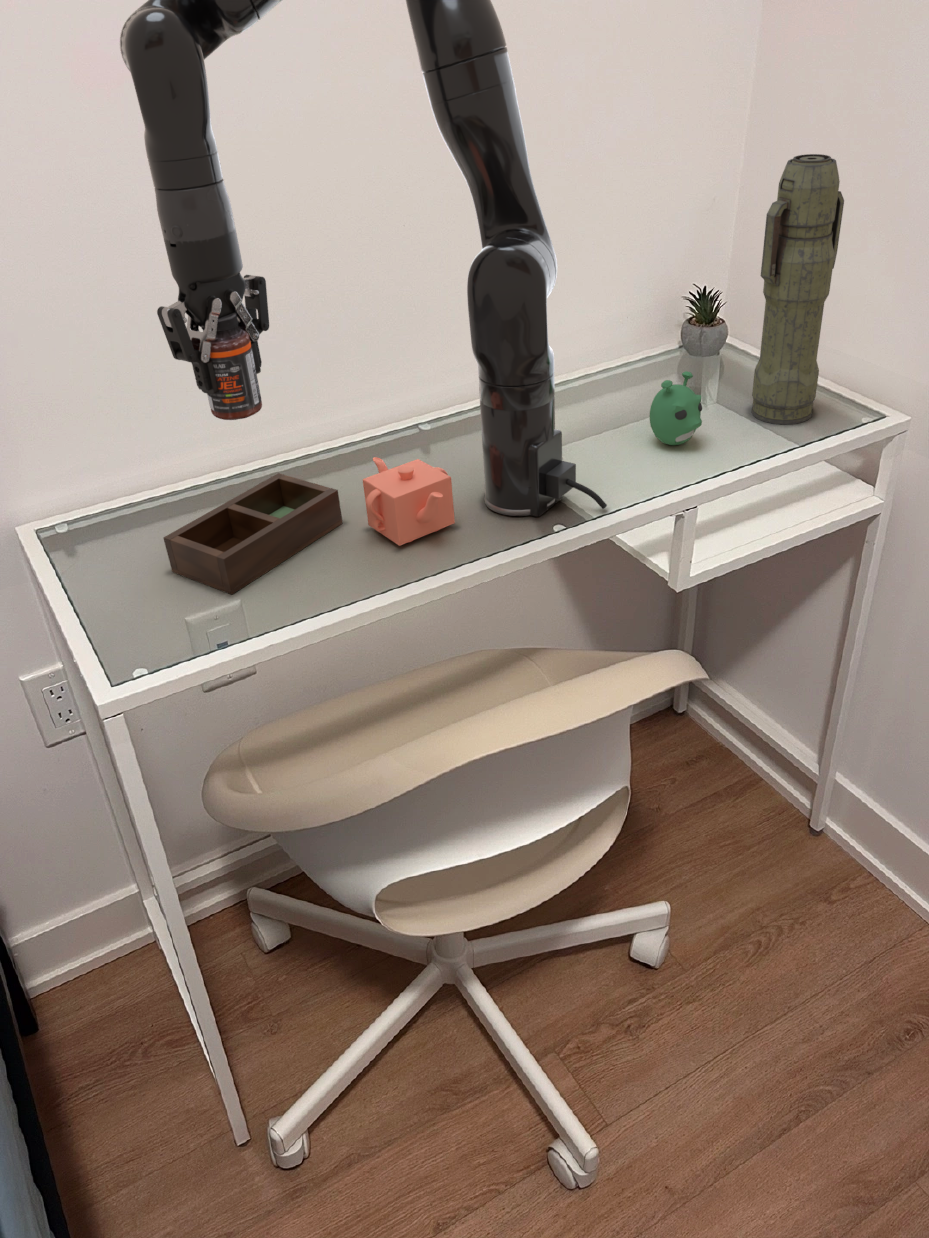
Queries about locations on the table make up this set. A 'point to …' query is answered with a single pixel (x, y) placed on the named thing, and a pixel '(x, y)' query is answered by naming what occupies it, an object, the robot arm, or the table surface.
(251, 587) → the table surface
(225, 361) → the supplement bottle
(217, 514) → the organizer
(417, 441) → the table surface
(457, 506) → the table surface
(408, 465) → the teapot
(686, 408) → the alien toy
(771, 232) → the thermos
